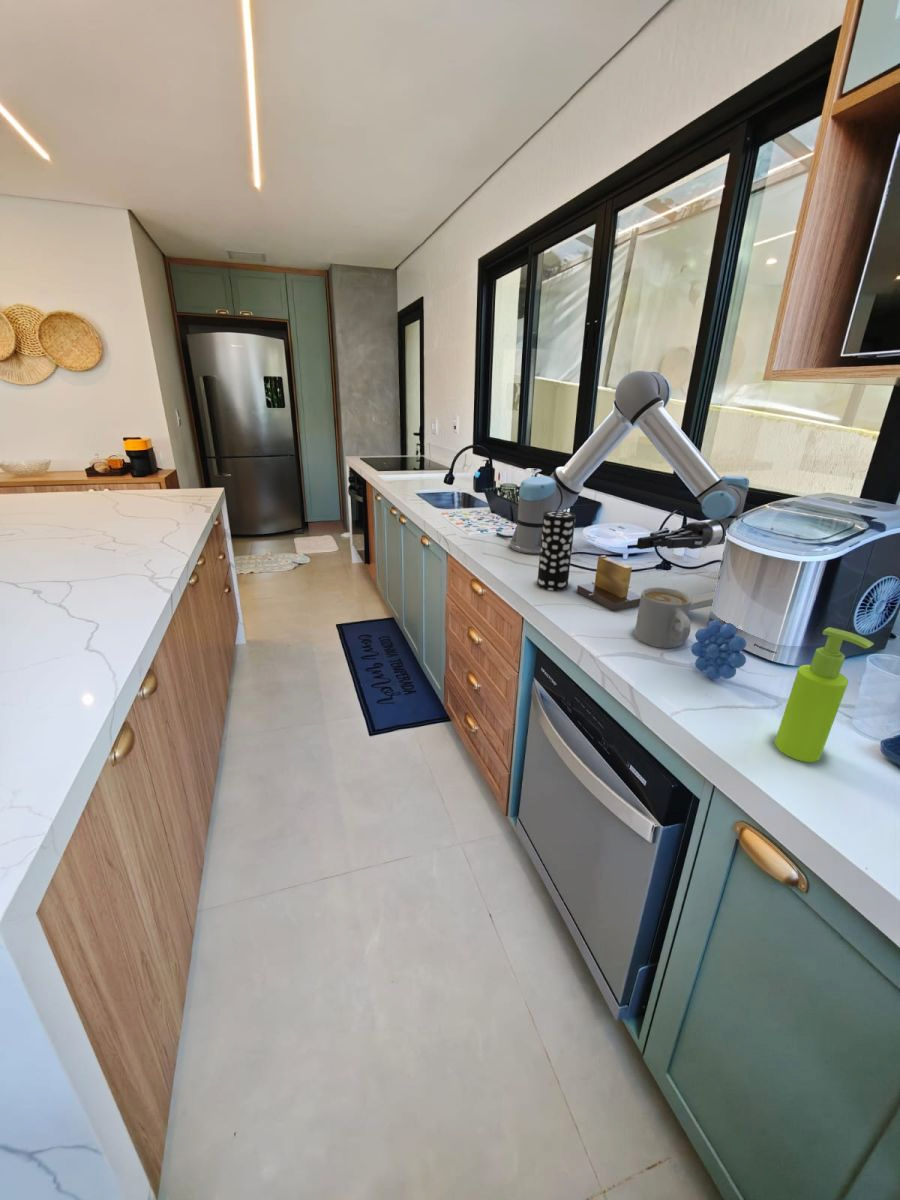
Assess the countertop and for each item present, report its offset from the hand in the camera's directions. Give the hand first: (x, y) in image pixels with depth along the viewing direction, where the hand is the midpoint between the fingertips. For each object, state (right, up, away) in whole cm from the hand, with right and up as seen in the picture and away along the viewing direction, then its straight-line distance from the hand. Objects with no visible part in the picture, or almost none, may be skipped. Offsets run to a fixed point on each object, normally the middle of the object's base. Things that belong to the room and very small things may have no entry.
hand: (639, 543), depth 133 cm
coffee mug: (-4, -24, -24) cm, 34 cm away
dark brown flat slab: (-8, -15, -1) cm, 17 cm away
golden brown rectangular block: (-8, -13, -2) cm, 15 cm away
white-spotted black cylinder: (-22, -11, +7) cm, 25 cm away
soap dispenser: (+3, -38, -57) cm, 69 cm away
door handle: (+14, -19, -10) cm, 25 cm away
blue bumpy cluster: (0, -30, -38) cm, 48 cm away
